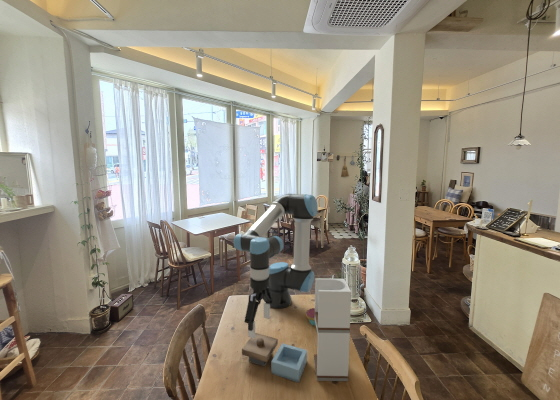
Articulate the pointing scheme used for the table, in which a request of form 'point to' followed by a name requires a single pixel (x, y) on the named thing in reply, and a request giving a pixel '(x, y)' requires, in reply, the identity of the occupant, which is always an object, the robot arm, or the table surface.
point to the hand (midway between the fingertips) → (259, 326)
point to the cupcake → (311, 316)
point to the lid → (260, 347)
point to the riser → (257, 361)
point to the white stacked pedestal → (332, 329)
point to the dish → (289, 362)
